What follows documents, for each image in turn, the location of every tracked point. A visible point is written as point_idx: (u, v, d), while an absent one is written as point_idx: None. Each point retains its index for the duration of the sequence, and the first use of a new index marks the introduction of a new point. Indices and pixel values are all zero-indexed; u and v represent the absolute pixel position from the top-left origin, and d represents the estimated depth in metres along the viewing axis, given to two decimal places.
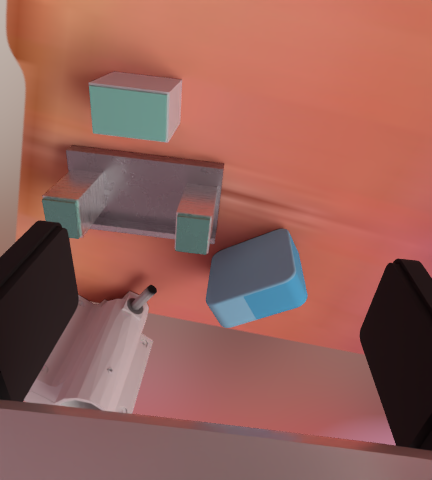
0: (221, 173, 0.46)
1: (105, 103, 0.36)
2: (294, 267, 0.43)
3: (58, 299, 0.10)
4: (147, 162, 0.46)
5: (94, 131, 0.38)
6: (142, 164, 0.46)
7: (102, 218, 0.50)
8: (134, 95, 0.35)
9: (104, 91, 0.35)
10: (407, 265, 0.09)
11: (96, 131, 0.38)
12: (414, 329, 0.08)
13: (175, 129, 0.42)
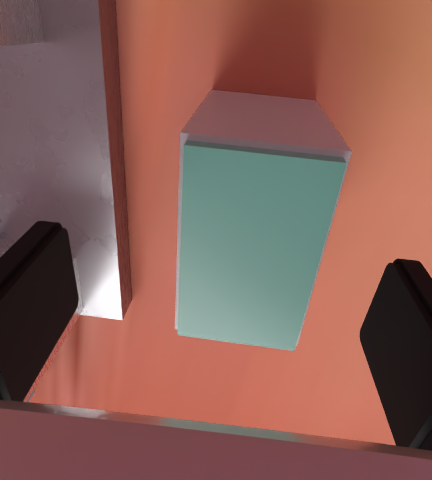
0: (113, 317, 0.23)
1: (284, 206, 0.11)
2: None
3: (58, 299, 0.10)
4: (105, 179, 0.18)
5: (189, 151, 0.10)
6: (97, 166, 0.18)
7: None
8: (300, 286, 0.12)
9: (322, 210, 0.11)
10: (407, 265, 0.09)
11: (190, 158, 0.10)
12: (414, 329, 0.08)
13: None
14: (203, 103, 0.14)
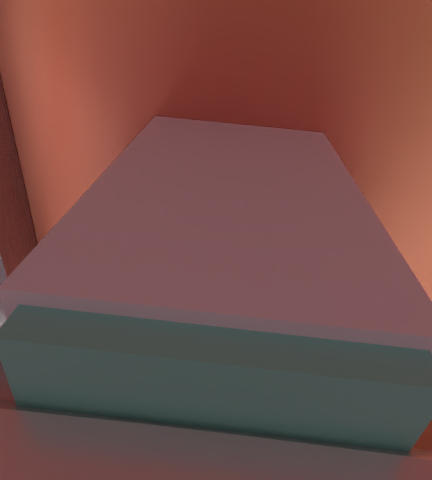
0: None
1: None
2: None
3: None
4: None
5: (13, 350, 0.04)
6: None
7: None
8: None
9: None
10: None
11: (20, 364, 0.04)
12: None
13: None
14: (123, 154, 0.08)
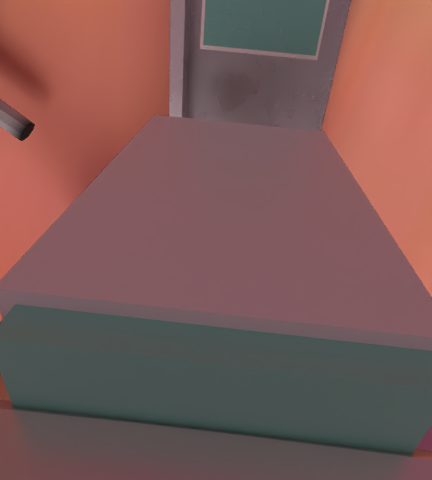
0: None
1: None
2: None
3: None
4: None
5: (9, 350, 0.04)
6: None
7: (188, 29, 0.22)
8: None
9: None
10: None
11: (16, 365, 0.04)
12: None
13: None
14: (122, 153, 0.08)
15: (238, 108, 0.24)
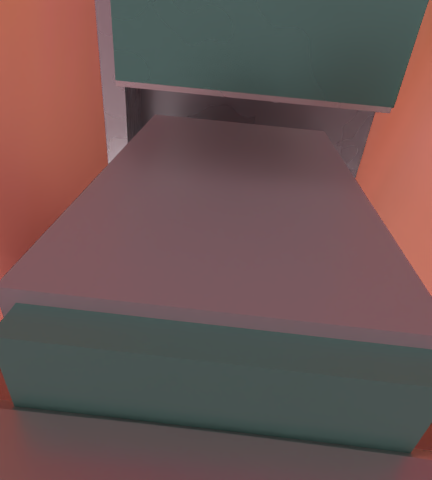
0: None
1: None
2: None
3: None
4: None
5: (10, 349, 0.04)
6: None
7: None
8: None
9: None
10: None
11: (17, 364, 0.04)
12: None
13: None
14: (123, 152, 0.08)
15: None
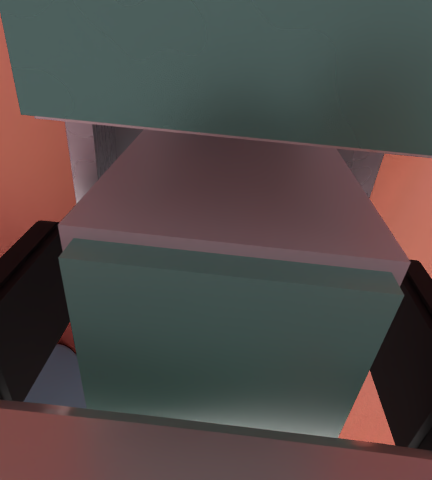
0: None
1: (273, 360, 0.06)
2: None
3: (59, 299, 0.10)
4: None
5: (73, 268, 0.05)
6: None
7: None
8: None
9: (347, 368, 0.06)
10: None
11: (77, 281, 0.05)
12: (413, 329, 0.08)
13: None
14: (141, 135, 0.09)
15: None
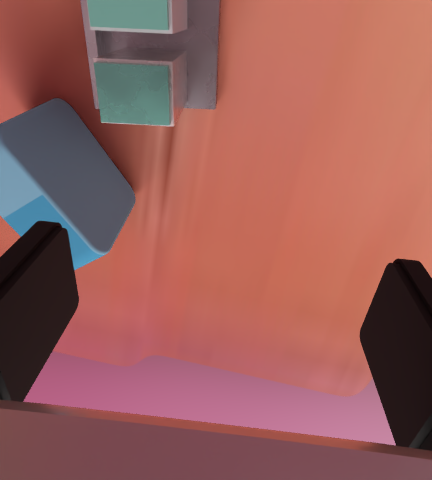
0: (208, 107, 0.32)
1: None
2: (111, 247, 0.31)
3: (58, 299, 0.10)
4: None
5: None
6: None
7: None
8: None
9: None
10: (407, 265, 0.09)
11: None
12: (414, 329, 0.08)
13: None
14: None
15: None
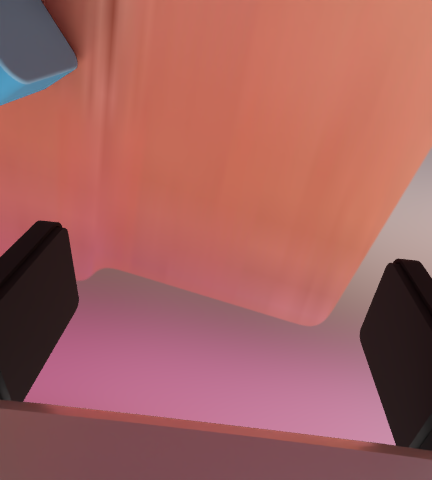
0: None
1: None
2: (31, 81, 0.28)
3: (58, 299, 0.10)
4: None
5: None
6: None
7: None
8: None
9: None
10: (407, 265, 0.09)
11: None
12: (414, 329, 0.08)
13: None
14: None
15: None
